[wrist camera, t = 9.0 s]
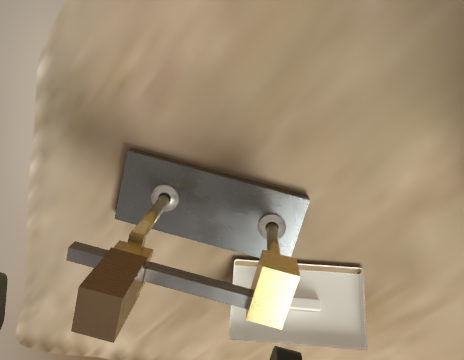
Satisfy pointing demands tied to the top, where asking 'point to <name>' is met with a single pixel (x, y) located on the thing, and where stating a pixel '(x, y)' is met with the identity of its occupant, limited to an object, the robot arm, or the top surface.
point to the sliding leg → (115, 282)
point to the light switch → (310, 311)
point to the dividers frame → (253, 300)
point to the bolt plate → (209, 204)
